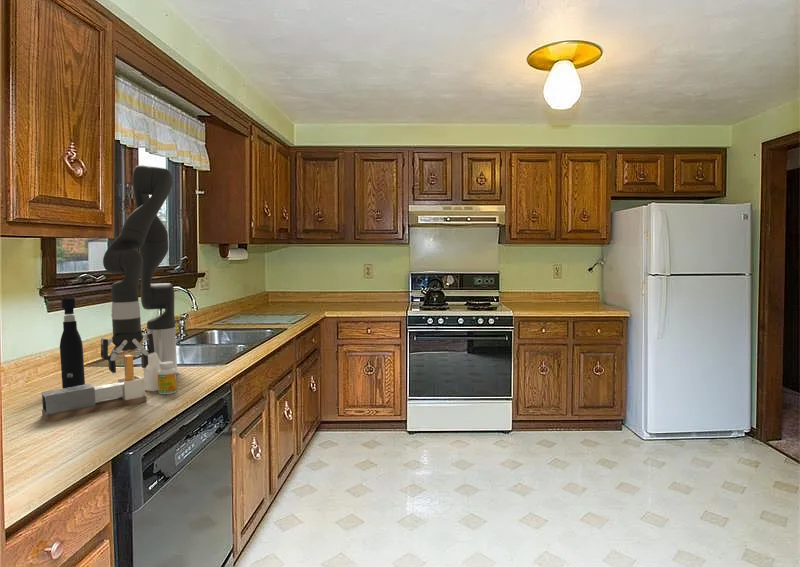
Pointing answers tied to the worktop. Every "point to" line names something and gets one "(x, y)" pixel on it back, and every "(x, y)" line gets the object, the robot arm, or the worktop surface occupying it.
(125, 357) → the slide bolt
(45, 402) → the grey rectangular box
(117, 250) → the robot arm
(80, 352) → the black bottle
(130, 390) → the socket
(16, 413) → the worktop surface
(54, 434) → the worktop surface
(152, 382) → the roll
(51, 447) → the worktop surface
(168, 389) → the supplement bottle
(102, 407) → the board
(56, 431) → the worktop surface
